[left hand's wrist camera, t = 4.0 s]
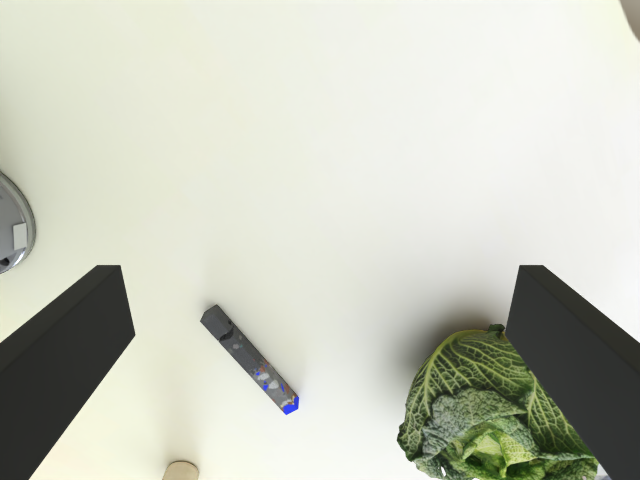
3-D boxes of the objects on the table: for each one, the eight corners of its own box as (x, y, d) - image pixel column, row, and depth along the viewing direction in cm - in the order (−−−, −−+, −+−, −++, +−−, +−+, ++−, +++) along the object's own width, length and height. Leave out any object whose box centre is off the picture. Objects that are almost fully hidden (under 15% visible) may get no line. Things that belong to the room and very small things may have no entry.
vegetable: (406, 328, 62) (363, 446, 48) (492, 264, 48) (467, 401, 34) (508, 401, 61) (495, 542, 47) (623, 357, 48) (654, 535, 34)
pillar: (212, 313, 50) (299, 410, 56) (216, 304, 52) (300, 399, 58) (200, 321, 51) (287, 416, 57) (204, 312, 53) (288, 405, 59)
